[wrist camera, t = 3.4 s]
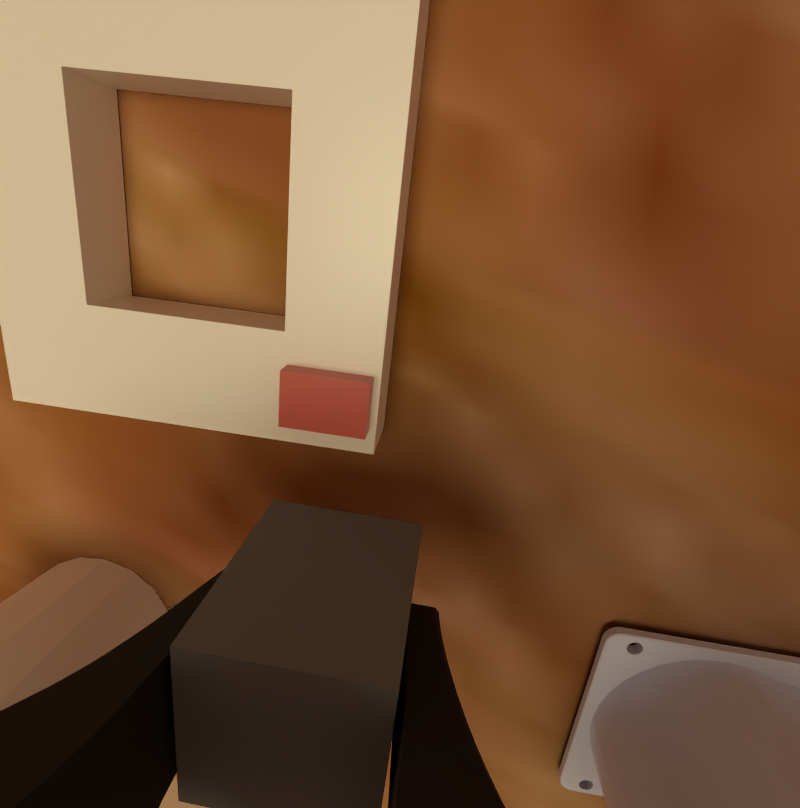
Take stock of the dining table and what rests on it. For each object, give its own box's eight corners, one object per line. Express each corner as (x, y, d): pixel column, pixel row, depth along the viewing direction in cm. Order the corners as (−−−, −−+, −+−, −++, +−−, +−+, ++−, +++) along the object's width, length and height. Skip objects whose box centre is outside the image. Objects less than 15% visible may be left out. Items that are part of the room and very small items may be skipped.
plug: (422, 524, 13) (398, 690, 8) (404, 642, 14) (376, 843, 9) (274, 499, 13) (169, 646, 8) (270, 617, 14) (178, 801, 10)
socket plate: (433, -31, 12) (426, -100, 9) (383, 428, 16) (369, 464, 13) (5, -66, 13) (-105, -138, 10) (63, 380, 17) (-5, 406, 14)
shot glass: (-2, 551, 20) (-234, 712, 13) (152, 535, 18) (-17, 703, 12) (65, 682, 22) (-106, 878, 15) (207, 675, 21) (89, 884, 14)
